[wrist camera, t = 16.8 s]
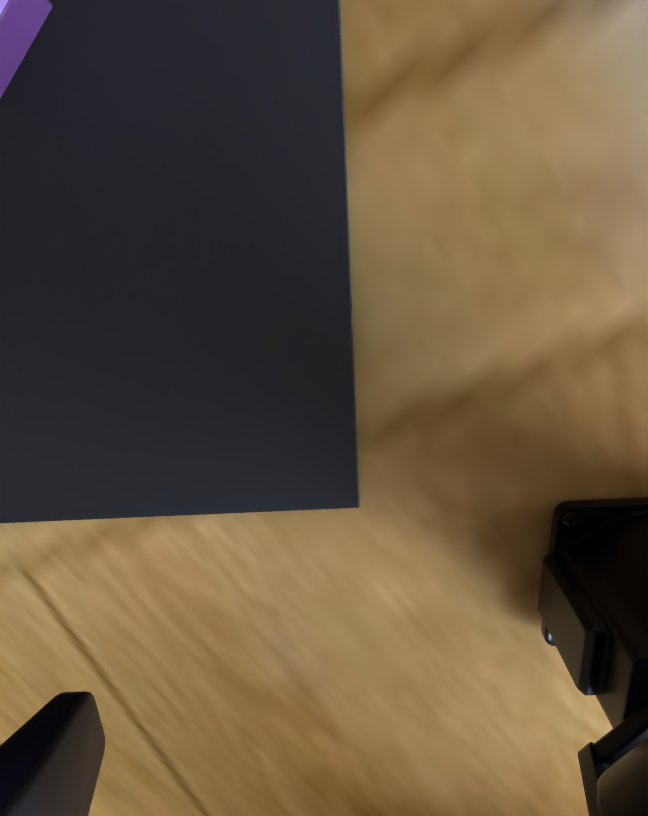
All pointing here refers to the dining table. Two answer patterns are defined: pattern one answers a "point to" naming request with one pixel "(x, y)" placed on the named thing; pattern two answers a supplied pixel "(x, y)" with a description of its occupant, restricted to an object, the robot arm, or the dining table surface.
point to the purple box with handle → (18, 33)
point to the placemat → (176, 263)
